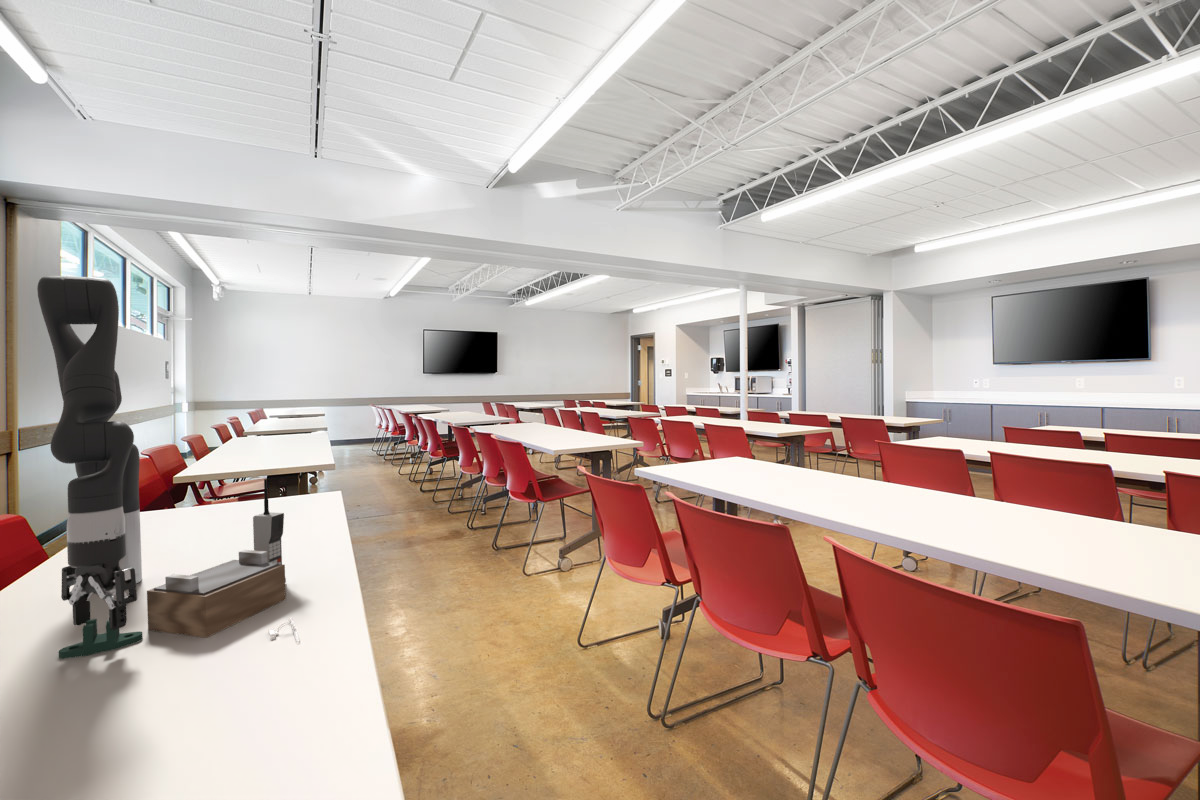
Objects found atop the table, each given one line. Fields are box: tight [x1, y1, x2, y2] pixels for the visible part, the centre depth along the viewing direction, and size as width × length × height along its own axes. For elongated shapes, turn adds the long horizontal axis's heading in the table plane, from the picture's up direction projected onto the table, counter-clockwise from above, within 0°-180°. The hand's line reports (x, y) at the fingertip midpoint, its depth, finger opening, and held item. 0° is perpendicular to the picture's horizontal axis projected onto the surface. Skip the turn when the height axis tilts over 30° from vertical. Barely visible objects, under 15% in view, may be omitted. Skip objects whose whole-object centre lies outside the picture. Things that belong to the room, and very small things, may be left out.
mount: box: [58, 618, 144, 660], centre depth 95 cm, size 11×4×5 cm, turn 126°
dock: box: [146, 549, 287, 638], centre depth 108 cm, size 14×18×10 cm
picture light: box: [268, 617, 301, 645], centre depth 100 cm, size 14×4×2 cm, turn 36°
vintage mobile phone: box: [252, 478, 287, 584], centre depth 124 cm, size 4×5×25 cm
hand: (100, 625), depth 94 cm, fingers open, 8 cm apart
